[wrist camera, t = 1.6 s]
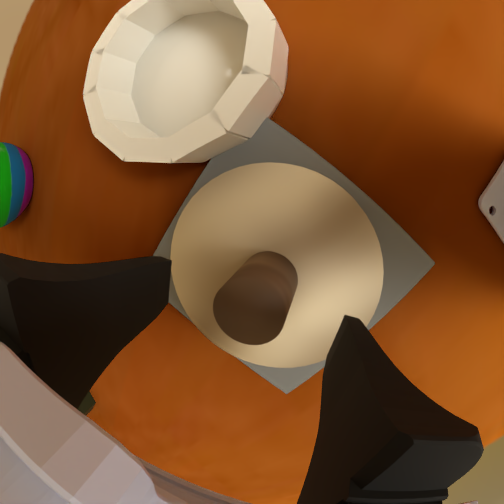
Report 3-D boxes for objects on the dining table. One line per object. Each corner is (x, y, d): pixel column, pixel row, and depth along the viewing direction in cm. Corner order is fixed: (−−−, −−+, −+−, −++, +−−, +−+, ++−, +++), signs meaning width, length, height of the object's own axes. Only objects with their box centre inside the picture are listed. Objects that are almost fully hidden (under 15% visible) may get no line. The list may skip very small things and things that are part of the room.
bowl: (328, 49, 11) (324, 12, 7) (216, 197, 15) (178, 208, 11) (189, -10, 11) (157, -37, 8) (107, 113, 15) (63, 108, 12)
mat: (429, 257, 13) (435, 263, 12) (289, 384, 17) (286, 394, 16) (254, 109, 13) (248, 105, 12) (150, 271, 18) (141, 277, 17)
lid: (423, 263, 12) (454, 302, 8) (286, 386, 16) (270, 438, 12) (250, 118, 12) (213, 99, 8) (150, 277, 17) (103, 307, 13)
